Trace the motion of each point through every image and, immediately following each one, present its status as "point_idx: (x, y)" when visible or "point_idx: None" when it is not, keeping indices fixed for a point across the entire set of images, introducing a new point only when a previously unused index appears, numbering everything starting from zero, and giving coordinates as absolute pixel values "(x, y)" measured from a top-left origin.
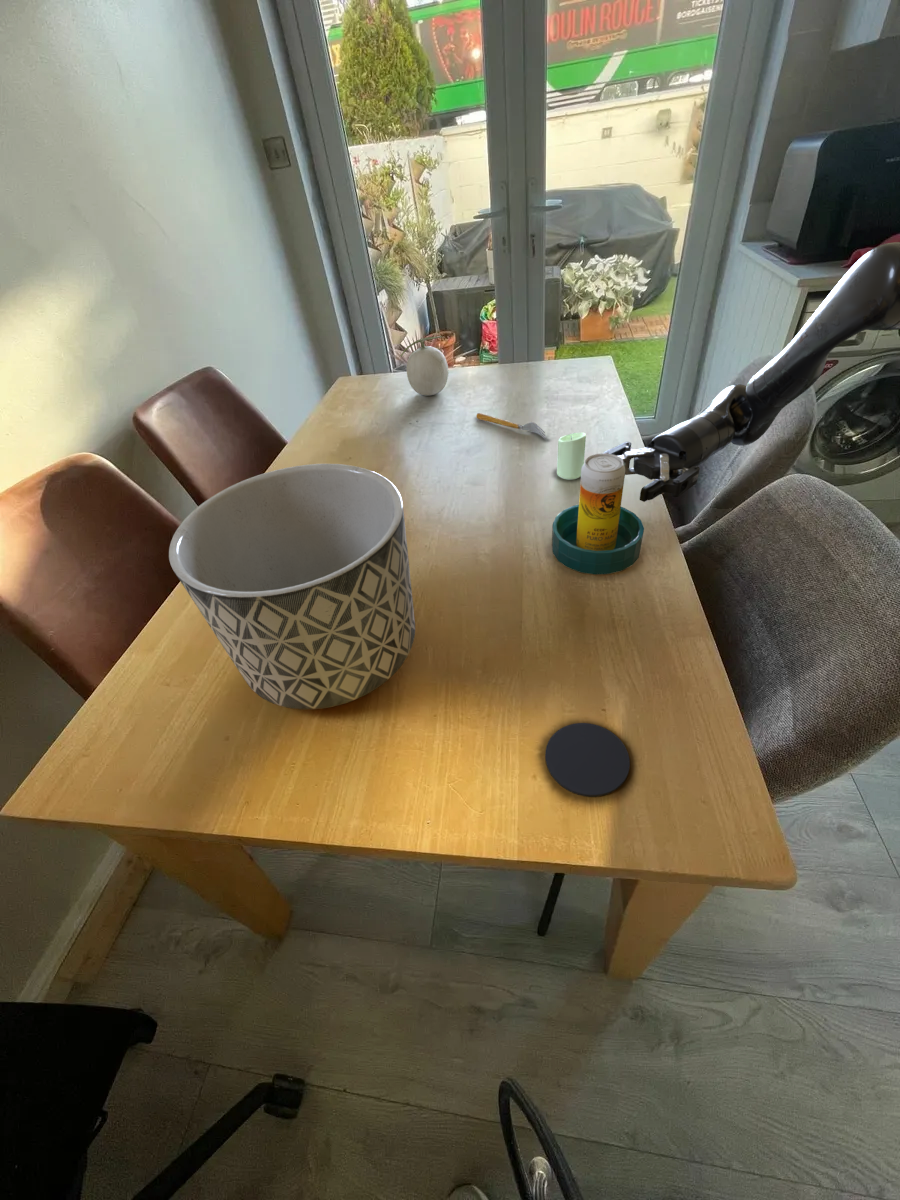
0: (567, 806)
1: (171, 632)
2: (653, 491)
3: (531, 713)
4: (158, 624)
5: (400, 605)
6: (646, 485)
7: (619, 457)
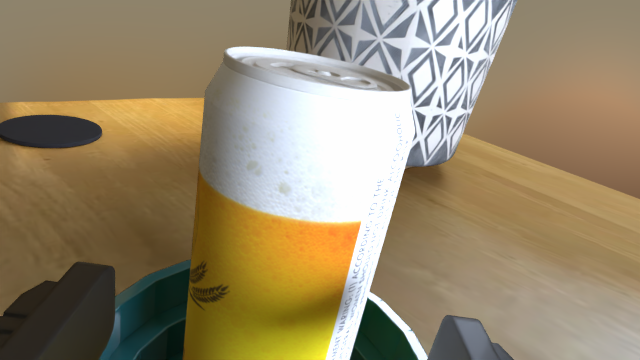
0: (58, 114)
1: (466, 139)
2: (21, 299)
3: (136, 146)
4: (481, 140)
5: (299, 50)
6: (87, 290)
7: (291, 77)
